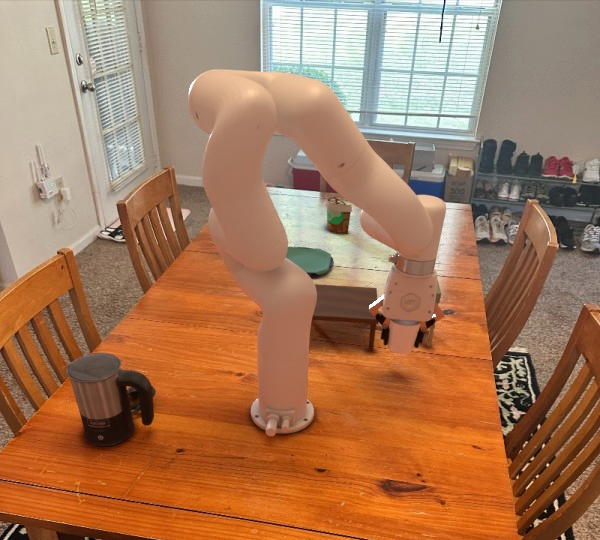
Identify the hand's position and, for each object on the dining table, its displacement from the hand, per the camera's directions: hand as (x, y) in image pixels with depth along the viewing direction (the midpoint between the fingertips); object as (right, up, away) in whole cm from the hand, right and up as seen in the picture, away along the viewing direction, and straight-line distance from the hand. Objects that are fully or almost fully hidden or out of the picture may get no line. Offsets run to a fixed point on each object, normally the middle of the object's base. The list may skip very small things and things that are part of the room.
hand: (400, 342), depth 120 cm
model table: (-12, +4, +19) cm, 23 cm away
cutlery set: (-26, +29, +51) cm, 64 cm away
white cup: (0, -1, +1) cm, 1 cm away
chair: (+7, +3, +18) cm, 19 cm away
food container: (-10, +46, +75) cm, 88 cm away
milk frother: (-56, -16, -10) cm, 59 cm away
